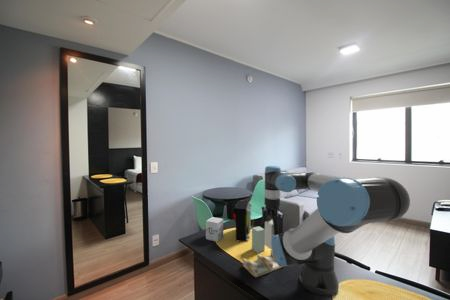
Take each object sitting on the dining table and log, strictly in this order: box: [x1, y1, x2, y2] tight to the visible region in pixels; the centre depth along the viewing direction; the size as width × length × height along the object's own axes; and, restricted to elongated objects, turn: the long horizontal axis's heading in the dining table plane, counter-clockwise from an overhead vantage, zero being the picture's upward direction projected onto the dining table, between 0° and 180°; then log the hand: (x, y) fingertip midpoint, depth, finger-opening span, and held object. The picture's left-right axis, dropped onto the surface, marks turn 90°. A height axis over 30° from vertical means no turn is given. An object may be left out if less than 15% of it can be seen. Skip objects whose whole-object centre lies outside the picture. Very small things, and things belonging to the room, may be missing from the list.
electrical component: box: [232, 200, 253, 242], centre depth 136 cm, size 18×10×20 cm, turn 168°
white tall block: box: [264, 219, 274, 250], centre depth 103 cm, size 5×5×12 cm
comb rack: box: [242, 249, 285, 278], centre depth 101 cm, size 10×19×4 cm, turn 119°
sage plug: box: [251, 226, 266, 254], centre depth 117 cm, size 5×5×12 cm
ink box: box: [205, 216, 224, 243], centre depth 131 cm, size 8×8×12 cm
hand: (271, 243), depth 103 cm, fingers closed on white tall block, 5 cm apart
